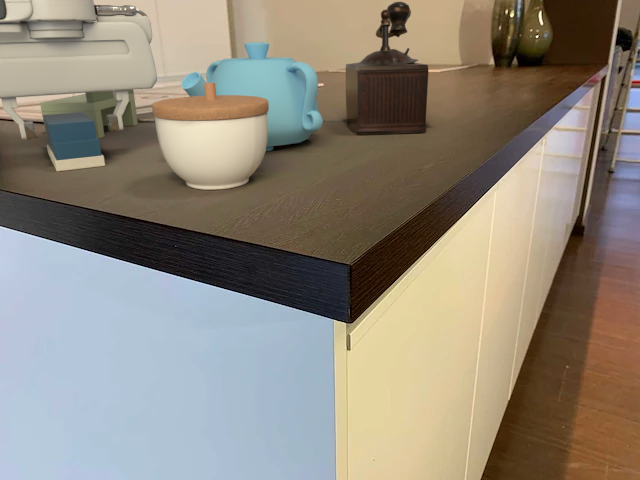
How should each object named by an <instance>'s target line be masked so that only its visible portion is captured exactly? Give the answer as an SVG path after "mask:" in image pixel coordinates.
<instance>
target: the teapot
mask: <svg viewBox="0 0 640 480" xmlns="http://www.w3.org/2000/svg"><path fill="white" fill-rule="evenodd" d="M243 45H244V49H245V52H246V54H247V56H248V57H232V58H223V59H221V60H220V59H219V60H216V61H213V62H212V63H210V64H209V65H208V66H207V69H206V74H205V76H206V77H205V78H206V80H205V79H204V77H203V75H201V73H200V72H198V71H193V72H190V73H188V74H187V75H186V76H184V78H183V79H182V81H181V82H180V83H181V84H180V85H181V88H182V89H183V90H184V92H186V94H187V95H188V97H191V96H205V90H204V83H215V87H216V95H242V96H255V97H261V98H265V99H267V100H268V104H269V111H268V140H267V146H266V151H265V152H270V151H273V150H274V147H275V146H277V147H278V146H285V145H291V144H300V143H302V142H304V141H306V140H308V139H309V138H310V137H311V135H312V134H313V133H314V132H317V131H319V130H320V129H321V127H322V126H323V123H324V122H323V117H322V114H321V113H320V110H319V105H318V101H317V96H318V92H319V78H318V75H317V72H316V70H315V69H314V67H312V66H311V65H310V64H308V63H306V62H303V61H296V60H295V59H293V57H288V56H287V57H285V56H281V57H280V56H277V57H276V56H267V55H268V52H269V48H270V43H269V42H264V41H254V42H253V41H252V42H246V43H244V44H243Z"/></svg>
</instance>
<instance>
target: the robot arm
mask: <svg viewBox="0 0 640 480" xmlns="http://www.w3.org/2000/svg"><path fill="white" fill-rule="evenodd" d="M152 29H153V28H152V22H151V20H150V18H149V16H148V15H147V14H146V13H145V12H144V11H142V10H141V9H138V8H137V7H136V6H135V5H130V4H128V5H110V4H95V1H94V0H0V99H1V104H2V108H3V111H4V112H6V113H7V115H8V116H9V117H10V118H11V119H12V120H13V122H14V123H15V124H17V125H18V129H19V133H20V138H21V140H22V141H24V140H33V139H34V140H35V139H37V134H36V132H35V125H34V121H33V120H29V121H28V120H27V121H25V120H24V119H23V118H22V117H21V116H20V114H19V113H18V112H17V111H16V110H15V109H18V107H19V106H18V102H17V98H27V97H40V96H56V95H57V96H58V95H71V94H74V95H75V94H85V93H90V92H105V91H113V97H114V99H116V100H118V103H117V105H116V108H115V111H114V113H113V114H110V115H106V116H107V121H108V122H109V123H108V126H107V128H108V130H109V131H110V132H115V131H118V132H119V131H124V126H123V121H122V115H123V113H124V111H125V109H126V106H127V104H128V102H129V95H128V90H133V91H134V90H148V89H149V90H150V89H153V88H154V86H155V85H156V83H157V82H158V73H157V68H156V64H155V63H156V62H155V58H154V54H153V52H152V51H153V50H152V48H151V45H150V44H151V42H152V41H153V32H152Z"/></svg>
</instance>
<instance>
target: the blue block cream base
mask: <svg viewBox="0 0 640 480" xmlns="http://www.w3.org/2000/svg"><path fill="white" fill-rule="evenodd" d="M42 120H44V121H43V125H45V126H44V131H45V130H46V131H45V136H46V135H47V136H46V140H47V144H46V149H47V150H46V151H47V153H48V156H49V159H50V161H51V162H52V165H53V167H54V169H55V171H56V172H57V173H58V172H66V171H72V170H73V171H75V170H82V169H90V168H99V167H106V162H105V161H106V160H105V155H104V154H102V148H101V142H100V139H98V138H97V137H96V130H95V124H94V121H93V120H92V119H91V118H90V117H88V116H87V115H86V114H85V113H83V112H77V113H63V114H49V115H43V116H42Z"/></svg>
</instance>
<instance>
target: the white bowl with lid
mask: <svg viewBox="0 0 640 480" xmlns="http://www.w3.org/2000/svg"><path fill="white" fill-rule="evenodd" d="M204 90H205V96H191V97H190V96H181V97H172V98H167V99H161V100H158V101H157V100H156V101H155V102H153V103H152V105H151V111H152V115H153V117H154V123H155V130H156V137H157V140H158V144H159V145H158V146H159V147H160V151H161V153H162V156H163V157H164V160H165V162H166V163H167V165H168V167H169V168H170V169H171V170H172V172H174V174H175V175H177V176H178V177H179V178H181V179H182V180H183V181H185V184H186V186H187V187H189V188H192V189H197V190H208V191H209V190H214V191H215V190H226V189H233V188H238V187H241V186H243V185H246V184H247V183H249V181H250V177H251V176H252V175H253V174H254V173H255V172H256V171H257V169H258V168H259V167H260V165H261V164H262V161H263V160H264V157H265V154H266V152H267V151H266V146H267V140H268V111H269V104H268V100H267V99H265V98H261V97H255V96H242V95H216V87H215V83H204Z"/></svg>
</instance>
